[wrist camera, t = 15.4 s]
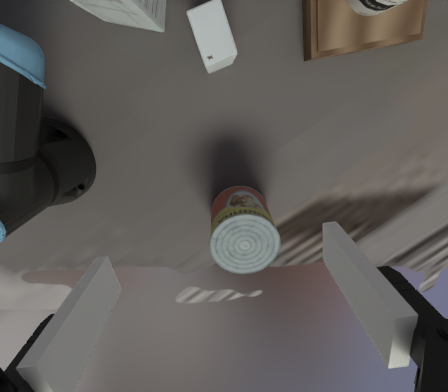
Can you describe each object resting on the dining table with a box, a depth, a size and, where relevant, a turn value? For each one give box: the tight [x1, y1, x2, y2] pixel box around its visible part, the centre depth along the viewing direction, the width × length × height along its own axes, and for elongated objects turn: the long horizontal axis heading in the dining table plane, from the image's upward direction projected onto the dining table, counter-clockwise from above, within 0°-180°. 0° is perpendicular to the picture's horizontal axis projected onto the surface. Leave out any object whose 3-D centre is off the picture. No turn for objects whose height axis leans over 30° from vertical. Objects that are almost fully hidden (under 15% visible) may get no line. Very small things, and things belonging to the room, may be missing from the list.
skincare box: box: [186, 0, 237, 73], centre depth 34 cm, size 6×4×12 cm
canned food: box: [209, 186, 280, 274], centre depth 45 cm, size 11×11×12 cm
